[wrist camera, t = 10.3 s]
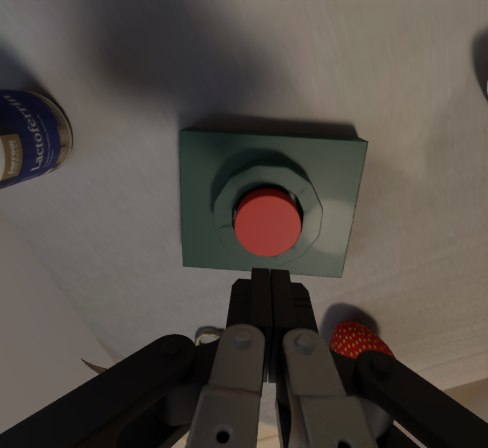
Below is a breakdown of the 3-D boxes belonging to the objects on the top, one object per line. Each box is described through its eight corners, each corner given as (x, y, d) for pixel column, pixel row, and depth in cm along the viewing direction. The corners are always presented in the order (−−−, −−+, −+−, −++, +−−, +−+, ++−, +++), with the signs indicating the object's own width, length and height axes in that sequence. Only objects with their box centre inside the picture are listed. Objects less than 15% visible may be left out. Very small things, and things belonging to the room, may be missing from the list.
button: (301, 189, 20) (305, 197, 18) (294, 246, 21) (297, 259, 20) (238, 185, 20) (235, 193, 18) (235, 242, 21) (233, 254, 20)
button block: (358, 137, 22) (378, 145, 18) (335, 263, 26) (347, 292, 22) (186, 127, 22) (171, 133, 18) (188, 253, 26) (176, 279, 22)
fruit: (348, 341, 23) (379, 445, 23) (395, 313, 25) (424, 408, 25) (304, 326, 28) (330, 413, 28) (347, 304, 30) (371, 384, 30)
